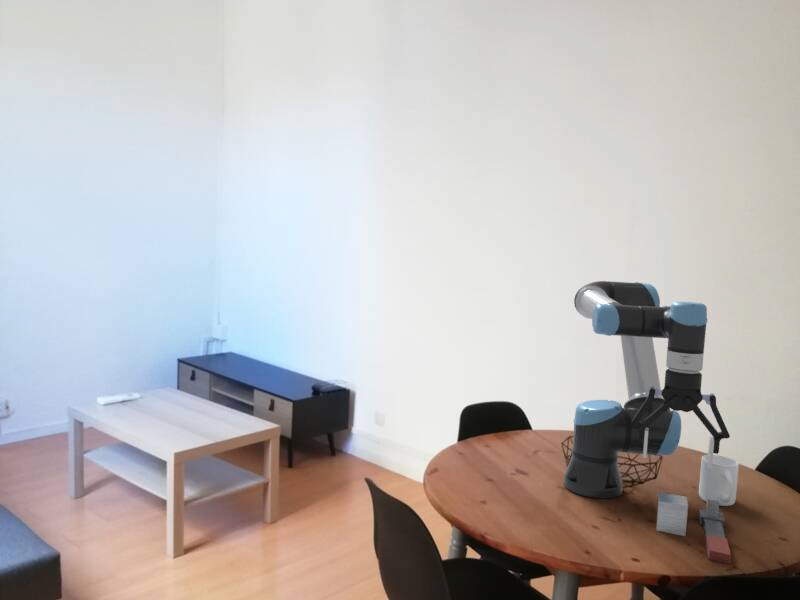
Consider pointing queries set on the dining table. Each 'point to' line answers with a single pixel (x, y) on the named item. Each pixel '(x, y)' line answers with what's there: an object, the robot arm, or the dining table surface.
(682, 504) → the white ridged cube
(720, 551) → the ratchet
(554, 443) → the dining table surface
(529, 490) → the dining table surface
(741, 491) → the dining table surface
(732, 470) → the mug
